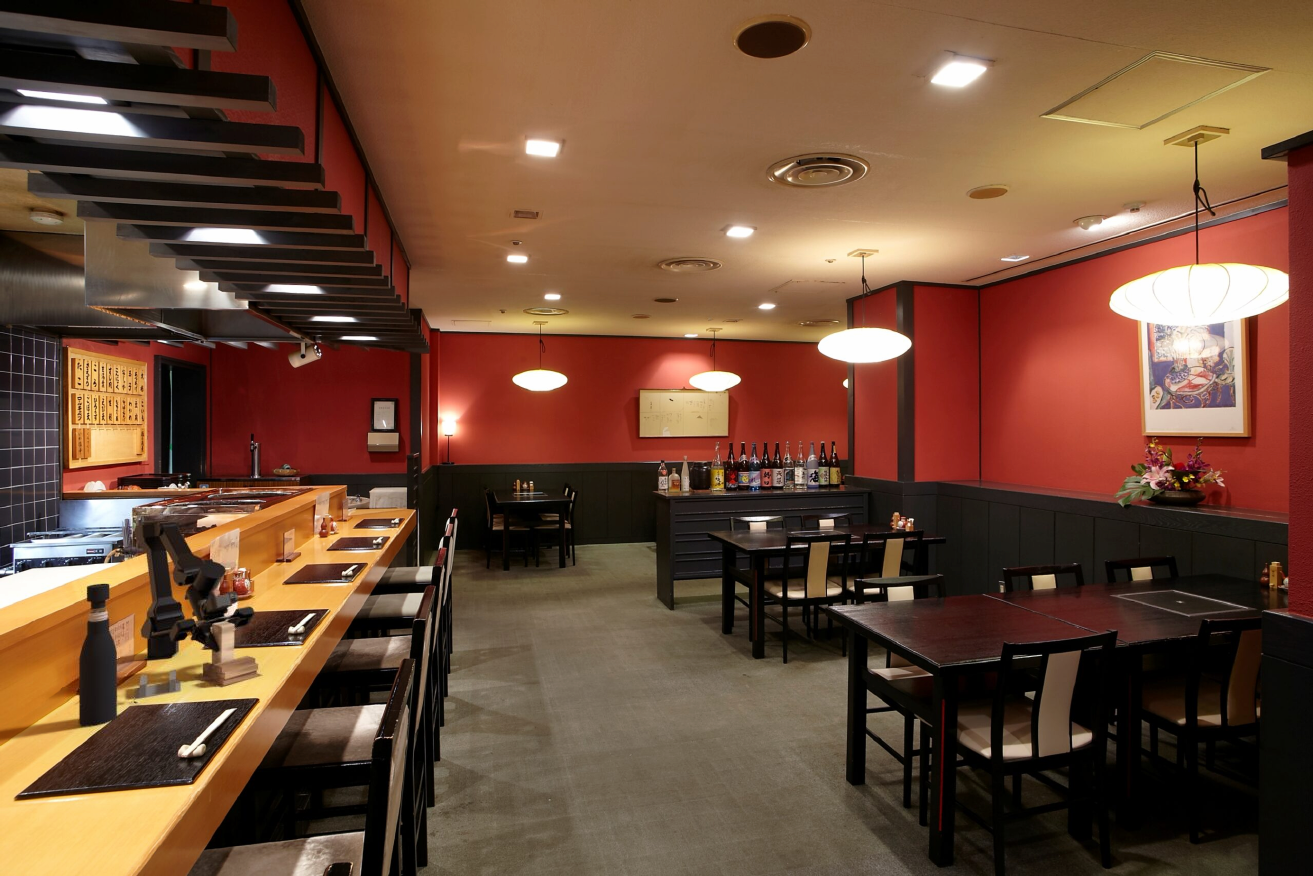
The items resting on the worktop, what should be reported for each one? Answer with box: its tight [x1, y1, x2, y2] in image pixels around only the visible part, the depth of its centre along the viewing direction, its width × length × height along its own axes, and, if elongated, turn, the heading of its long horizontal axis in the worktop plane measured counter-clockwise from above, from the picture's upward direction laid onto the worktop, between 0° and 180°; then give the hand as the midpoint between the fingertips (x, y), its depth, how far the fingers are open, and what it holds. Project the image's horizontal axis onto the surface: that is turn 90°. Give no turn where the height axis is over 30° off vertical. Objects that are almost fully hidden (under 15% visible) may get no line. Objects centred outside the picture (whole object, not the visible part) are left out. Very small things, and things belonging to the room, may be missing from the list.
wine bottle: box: [78, 583, 118, 727], centre depth 148 cm, size 6×6×30 cm
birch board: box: [211, 621, 235, 664], centre depth 175 cm, size 5×3×13 cm, turn 59°
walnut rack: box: [194, 662, 263, 688], centre depth 173 cm, size 14×10×4 cm
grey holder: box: [133, 669, 182, 704], centre depth 164 cm, size 9×9×4 cm
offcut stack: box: [214, 655, 259, 685], centre depth 171 cm, size 5×8×4 cm, turn 149°
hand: (225, 649), depth 174 cm, fingers closed on birch board, 3 cm apart
